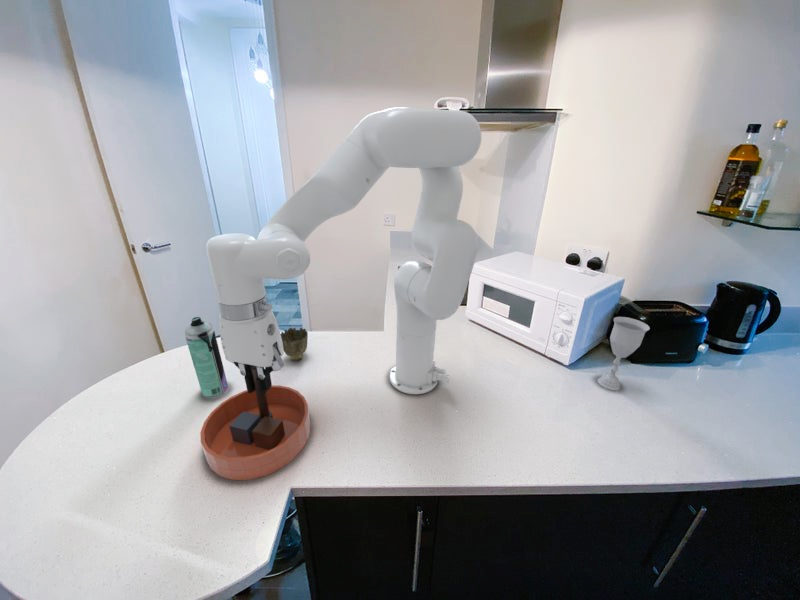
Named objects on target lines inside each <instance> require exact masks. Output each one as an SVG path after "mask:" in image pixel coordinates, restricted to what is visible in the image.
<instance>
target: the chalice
mask: <svg viewBox="0 0 800 600" xmlns="http://www.w3.org/2000/svg"><path fill="white" fill-rule="evenodd" d="M613 322H614V324H613V326H612V327H613V328H612V330H611V333H610V337H609V342H610V347H611V351H612V354H613V355H614V356H615V359H614V360H613V361H612V363H613V364H612V366H610V367H609V368H610V372H609V373H608V372H607V373H603V374H602V375H601V376H600V377H599V378H597V383H598V384H599V385H600V386H602V387H603V388H604V389H607V390H610V391H618V390H620V389H621V386H620V384H621V383H620V380H619V379H620V378H619V377H618V376H616V373H617V372H618V371H619V365H621V360H622V359H626V358H627V357H629V356H630V355H632V354H633V353H634V352H635V351H637V349H638V348H640V346H641V344H642V342H643V339H644V337H645V335H646V333H647V332H648V331H650V329H651V328H650V326H649V325H648V324H647V323H645V322H643V321H641V320H638V319H635V318H631V317H627V316H615V317H613Z"/></svg>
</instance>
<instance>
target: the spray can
mask: <svg viewBox="0 0 800 600" xmlns="http://www.w3.org/2000/svg"><path fill="white" fill-rule="evenodd" d="M184 337H185V341H186V344H187V347H188V351H189V354H190V357H191V361H192V364H193V368H194V371H195V374H196V378H197V382H198V384H199V388H200V392H201V395H202V397H203V398H206V399H214V398H218V397H220V396H222V395H224V394H225V393H226V392H228V390H229V384H228V381H227V377H226V372H225V369H224V365H223V359H222V356H221V352H220V348H219V344H218V340H217V336H216V331H215V328H214V327H213V324H212V323H210V322H206V321H204V320H202V318H201V317H200V316H194V317H193V318H192V319H191V322H190V324H189V326H187V327H186V328H185V329H184Z"/></svg>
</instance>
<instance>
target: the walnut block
mask: <svg viewBox="0 0 800 600" xmlns="http://www.w3.org/2000/svg"><path fill="white" fill-rule="evenodd" d="M252 434H253V438H254V442H255V446H256V447H260V448H264V449H268V450H271V449H273V448H275V447H276V446H277V445H278V444H279V442H280V441H281V440H282V438H283V437H284V435H285V432H284V426H283V420H280V419H275V418H271V417H266V416H265V417H264V418H263V419H262V420H261V421H260V422H259V424H258V425H257V426H256V427H255V428H254V429H253V431H252Z"/></svg>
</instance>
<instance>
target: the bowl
mask: <svg viewBox="0 0 800 600" xmlns="http://www.w3.org/2000/svg"><path fill="white" fill-rule="evenodd" d="M266 397H267V402H268V408H269V411H271V412H272V415H273V418H275V419H280V420H283V426H284V432H285V435H284V437H283V438H282V440H281V441H280V442H279V444H278V445H277V446H276V447H275V448H273V449H271V450H268V449H264V448H260V447H256V446H255V442H253V443H252V444H251V445H248V444H244V443H240V442H236V441H233V438H232V434H231V430H230V427H229V426H230V425H231V424H232V423H233V422H234V421H235V419H236V418H237V417H238V416H239V415H240V414H241V413H242V412H243V411H244V412H248V413H252V414H257V415H259V413H260V412H259V407H258V402H257V397H256V392H255V390H254V391H253V392H252V393H248V391H247V389H246V390H243V391H240V392H239V393H236V394H234V395H232V396H230V397H228V398H226V400H225V401H223V402H221V403H220V404H219V405H217V406H216V408H214V409H213V410H212V411H211V412H210V413H209V415H208V416H207V417H206V418H205V420H204V422H203V425H202V427H201V429H200V444H201V447H202V450H203V454H204V456H205V460H206V462H207V464H208V467H209V468H210V470H211V471H212V472H213V473H215V474H216V475H217V476H219V477H222V478H224V479H228V480H231V481H248V480H254V479H255V480H256V479H258V478H262V477H265V476H267V475H270V474H272V473H274V472H276V471H278V470H280V469H282V468H284V467H286V465H288V464H289V463H291V462H292V461H293V460H294V459H295V458H296V457H297V456H298V455H299V454H300V453H301V452H302V450H303V449H304V447H305V446H306V444H307V442H308V440H309V437H310V433H311V420H310V411H309V404H308V402H307V400H306V398H305V396H304V394H303V395H302V393H301V392H299V390H296V389H294V388H292V387H290V386H284V385H281V384H280V385H278V384H277V385H273V384H272V386H271V388H270V389H269V390H268V391H267V392H266Z"/></svg>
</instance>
